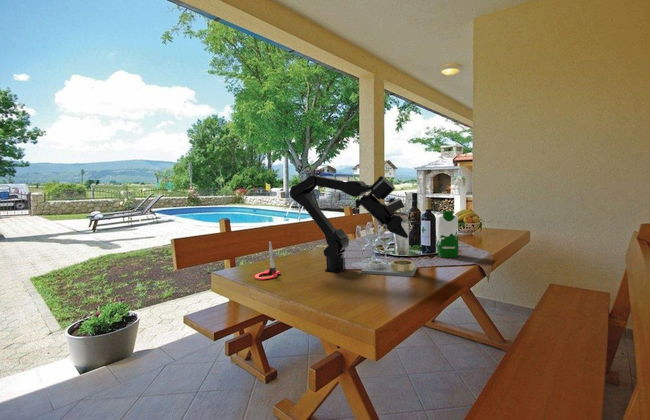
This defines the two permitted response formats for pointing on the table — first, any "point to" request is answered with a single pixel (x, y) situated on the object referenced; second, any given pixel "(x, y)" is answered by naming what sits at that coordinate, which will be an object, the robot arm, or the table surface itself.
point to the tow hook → (271, 269)
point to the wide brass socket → (402, 266)
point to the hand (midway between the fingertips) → (405, 236)
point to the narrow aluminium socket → (376, 265)
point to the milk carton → (447, 234)
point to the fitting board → (387, 271)
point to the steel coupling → (402, 240)
